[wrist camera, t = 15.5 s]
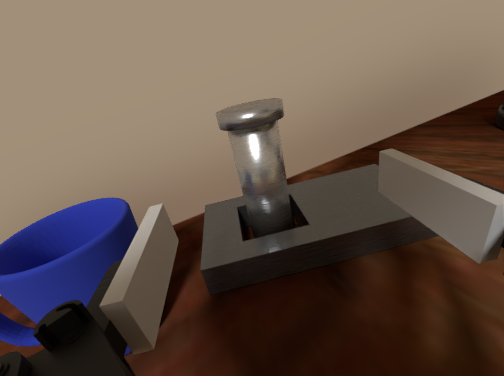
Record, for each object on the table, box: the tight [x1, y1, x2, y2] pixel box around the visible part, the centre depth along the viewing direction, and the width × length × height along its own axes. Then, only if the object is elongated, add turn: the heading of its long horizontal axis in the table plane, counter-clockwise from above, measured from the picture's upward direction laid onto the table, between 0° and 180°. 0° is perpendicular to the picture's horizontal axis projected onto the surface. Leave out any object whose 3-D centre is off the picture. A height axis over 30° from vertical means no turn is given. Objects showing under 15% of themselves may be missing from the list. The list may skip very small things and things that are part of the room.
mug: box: [0, 198, 138, 356], centre depth 17 cm, size 8×12×10 cm
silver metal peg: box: [216, 98, 294, 239], centre depth 23 cm, size 6×6×14 cm
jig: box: [201, 164, 439, 295], centre depth 26 cm, size 22×11×3 cm, turn 98°
